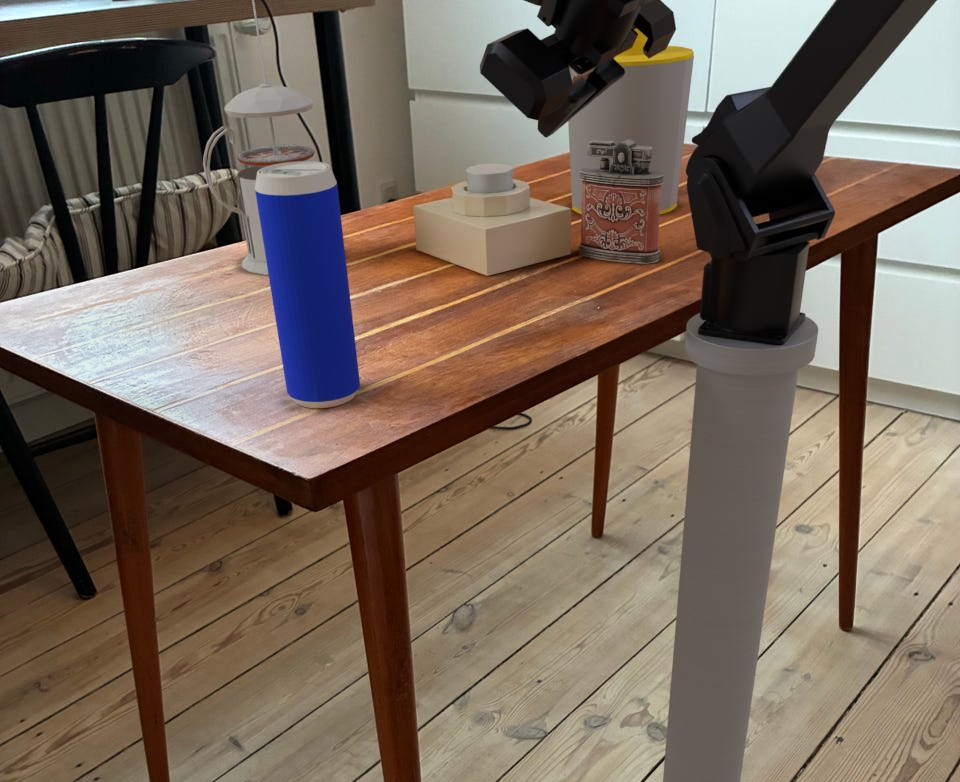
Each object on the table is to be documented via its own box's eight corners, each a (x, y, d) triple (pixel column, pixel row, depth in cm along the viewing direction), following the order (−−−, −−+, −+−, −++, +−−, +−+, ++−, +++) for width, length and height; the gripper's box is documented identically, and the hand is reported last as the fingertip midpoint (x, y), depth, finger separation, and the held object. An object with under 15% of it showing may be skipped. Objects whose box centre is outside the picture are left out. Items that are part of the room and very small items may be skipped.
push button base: (571, 254, 100) (571, 187, 96) (487, 276, 95) (484, 207, 91) (496, 230, 108) (494, 168, 104) (416, 250, 103) (411, 185, 100)
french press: (354, 264, 100) (318, -47, 85) (234, 284, 96) (176, -37, 82) (326, 241, 107) (289, -49, 93) (214, 258, 104) (157, -40, 89)
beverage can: (372, 385, 75) (348, 161, 66) (342, 413, 71) (312, 179, 62) (308, 379, 76) (276, 159, 68) (275, 406, 72) (236, 177, 64)
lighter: (665, 256, 98) (672, 140, 92) (649, 266, 95) (656, 147, 90) (589, 246, 101) (591, 134, 95) (572, 255, 99) (573, 141, 93)
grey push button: (522, 191, 98) (522, 168, 96) (485, 199, 96) (484, 176, 94) (495, 184, 100) (494, 161, 99) (457, 192, 98) (456, 168, 97)
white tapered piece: (576, 190, 120) (578, -26, 108) (690, 192, 117) (706, -31, 105) (552, 219, 110) (551, -16, 98) (676, 222, 107) (691, -20, 95)
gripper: (615, -143, 81) (543, 38, 94) (460, -85, 71) (404, 106, 85) (719, -49, 80) (631, 120, 93) (575, 22, 71) (501, 198, 84)
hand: (544, 132), depth 89 cm, fingers closed
